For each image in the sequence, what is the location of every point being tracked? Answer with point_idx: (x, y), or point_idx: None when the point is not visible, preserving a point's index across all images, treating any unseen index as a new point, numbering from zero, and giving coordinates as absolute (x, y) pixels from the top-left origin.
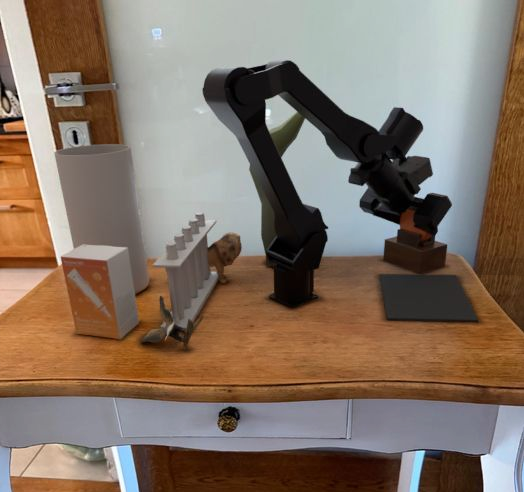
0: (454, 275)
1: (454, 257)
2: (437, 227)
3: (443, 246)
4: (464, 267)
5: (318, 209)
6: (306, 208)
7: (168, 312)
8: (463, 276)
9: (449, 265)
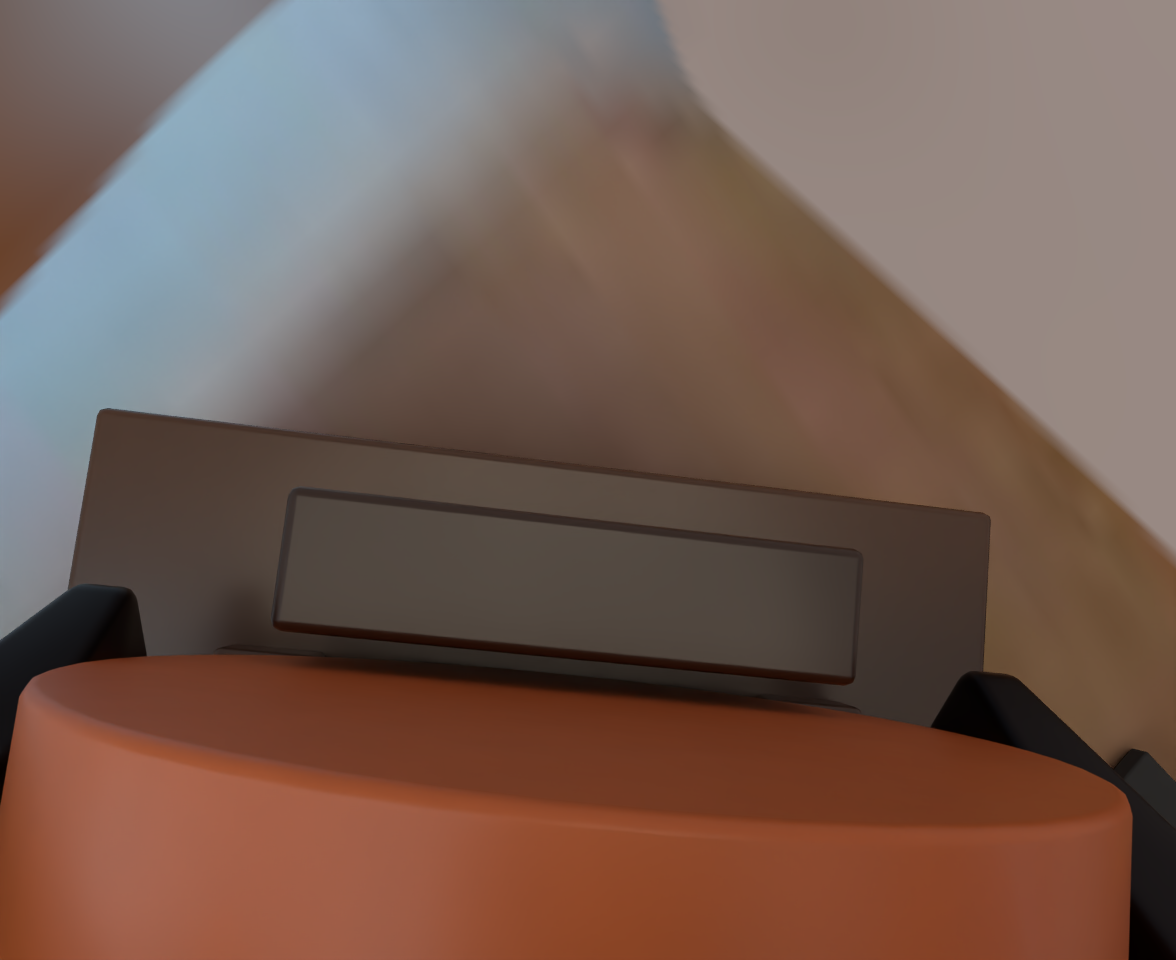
0: (1150, 780)
1: (723, 176)
2: (1124, 788)
3: (977, 609)
4: (1006, 403)
5: None
6: None
7: None
8: (1170, 665)
9: (855, 463)
